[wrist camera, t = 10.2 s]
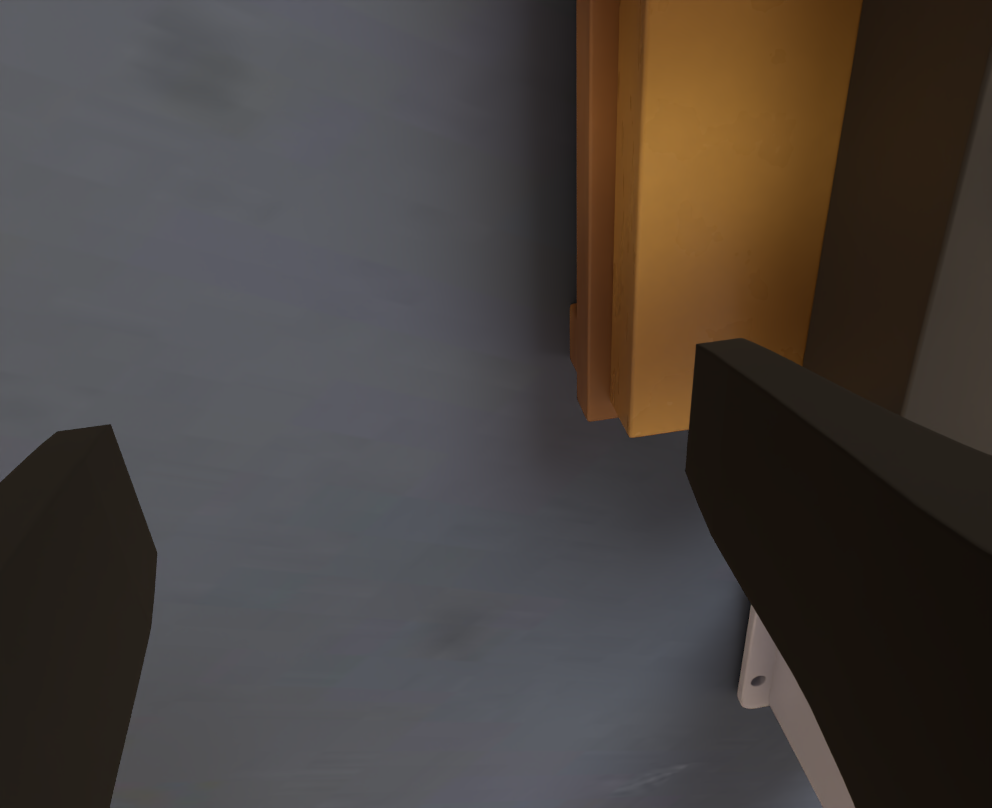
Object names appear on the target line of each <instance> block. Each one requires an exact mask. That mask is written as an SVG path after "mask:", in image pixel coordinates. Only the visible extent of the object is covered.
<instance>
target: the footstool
mask: <svg viewBox="0 0 992 808" xmlns="http://www.w3.org/2000/svg"><path fill="white" fill-rule="evenodd" d="M862 4H863V0H577V303H574V304H571V306H570V359H571V361H572V364H573V366H574V368H575V370H576V372H577V400H578V402H579V404H580V406H581V408H582V411H583V413H584V415H585V417H586V419H587V421H589V422H591V421H598V420H605V419H612V418H619V419H620V421H621V423H622V425H623V426H624V428H625V430H626V432H627V434H628V436H629V437H630V438H636V437H642V436H649V435H656V434H663V433H669V432H676V431H683V430H689V421H690V409H691V397H692V386H693V374H694V362H695V351H696V344H699V343H707V342H714V341H721V340H729V339H736V338H744V339H746V340H749V341H751V342H754V343H756V344H758V345H760V346H763V347H765V348H767V349H769V350H771V351H773V352H775V353H777V354H779V355H781V356H783V357H785V358H787V359H789V360H791V361H793V362H795V363H797V364H799V365H801V366H803V360H804V354H805V348H806V342H807V336H808V330H809V324H810V318H811V312H812V306H813V300H814V294H815V288H816V282H817V276H818V269H819V263H820V257H821V251H822V245H823V239H824V233H825V227H826V221H827V215H828V209H829V203H830V197H831V191H832V185H833V179H834V173H835V167H836V161H837V155H838V149H839V143H840V137H841V130H842V124H843V118H844V112H845V106H846V100H847V94H848V88H849V82H850V76H851V70H852V64H853V58H854V52H855V46H856V40H857V34H858V28H859V22H860V16H861V10H862Z"/></svg>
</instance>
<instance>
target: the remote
mask: <svg viewBox="0 0 992 808" xmlns="http://www.w3.org/2000/svg"><path fill="white" fill-rule="evenodd" d="M803 367H804V368H806V369H808V370H810V371H812V372H814V373H816V374H818V375H820V376H822V377H824V378H826V379H828V380H830V381H831V382H833V383H835V384H837V385H839V386H841V387H843V388H845V389H847V390H849V391H851V392H853V393H855V394H857V395H859V396H861V397H863V398H865V399H867V400H869V401H871V402H873V403H875V404H877V405H879V406H881V407H883V408H885V409H887V410H889V411H891V412H893V413H895V414H898V415H900V416H902V417H904V418H906V419H908V420H910V421H912V422H914V423H917V424H919V425H921V426H923V427H926V428H928V429H930V430H933V431H935V432H937V433H939V434H942V435H944V436H946V437H948V438H951V439H953V440H955V441H957V442H960V443H962V444H964V445H967V446H969V447H971V448H974V449H976V450H979V451H981V452H984V453H986V454H989V455H991V456H992V0H863V4H862V10H861V16H860V22H859V28H858V34H857V40H856V46H855V52H854V58H853V64H852V70H851V76H850V82H849V88H848V94H847V100H846V106H845V112H844V118H843V124H842V130H841V137H840V143H839V149H838V155H837V161H836V167H835V173H834V179H833V185H832V191H831V197H830V203H829V209H828V215H827V221H826V227H825V233H824V239H823V245H822V251H821V257H820V263H819V269H818V276H817V282H816V288H815V294H814V300H813V306H812V312H811V318H810V324H809V330H808V336H807V342H806V348H805V354H804V360H803Z"/></svg>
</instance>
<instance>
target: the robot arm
mask: <svg viewBox="0 0 992 808" xmlns="http://www.w3.org/2000/svg"><path fill="white" fill-rule="evenodd" d="M685 472H686V475H687V477H688V480H689V482H690V485H691V488H692V490H693V493H694V495H695V498H696V500H697V503H698V505H699V508H700V510H701V513H702V515H703V517H704V520H705V522H706V524H707V527H708V529H709V531H710V534H711V536H712V537H713V539H714V541H715V543H716V545H717V546H718V548H719V550H720V552H721V553H722V555H723V557H724V559H725V560H726V562H727V564H728V565H729V567H730V569H731V571H732V572H733V574H734V576H735V577H736V579H737V581H738V583H739V584H740V586H741V588H742V589H743V591H744V593H745V594H746V596H747V598H748V600H749V601H750V603H751V608H750V615H749V621H748V628H747V634H746V641H745V647H744V654H743V660H742V667H741V673H740V680H739V686H738V692H737V697H738V699H739V702H740V704H741V705H742V706H743V707H744V708H748V709H754V708H759V707H765V706H770V707H771V709H772V711H773V713H774V714H775V716H776V718H777V720H778V722H779V724H780V726H781V728H782V730H783V732H784V734H785V736H786V737H787V739H788V741H789V743H790V745H791V747H792V749H793V751H794V753H795V755H796V757H797V759H798V760H799V762H800V764H801V766H802V768H803V770H804V772H805V774H806V776H807V778H808V780H809V781H810V783H811V785H812V787H813V789H814V791H815V793H816V795H817V797H818V799H819V801H820V803H821V804H822V806H823V808H992V456H991V455H989V454H986V453H984V452H981V451H979V450H976V449H974V448H971V447H969V446H967V445H964V444H962V443H960V442H957V441H955V440H953V439H951V438H948V437H946V436H944V435H942V434H939V433H937V432H935V431H933V430H930V429H928V428H926V427H923V426H921V425H919V424H917V423H914V422H912V421H910V420H908V419H906V418H904V417H902V416H900V415H898V414H895V413H893V412H891V411H889V410H887V409H885V408H883V407H881V406H879V405H877V404H875V403H873V402H871V401H869V400H867V399H865V398H863V397H861V396H859V395H857V394H855V393H853V392H851V391H849V390H847V389H845V388H843V387H841V386H839V385H837V384H835V383H833V382H831V381H830V380H828V379H826V378H824V377H822V376H820V375H818V374H816V373H814V372H812V371H810V370H808V369H806V368H804V367H803V366H801V365H799V364H797V363H795V362H793V361H791V360H789V359H787V358H785V357H783V356H781V355H779V354H777V353H775V352H773V351H771V350H769V349H767V348H765V347H763V346H760V345H758V344H756V343H754V342H751V341H749V340H746V339H744V338H736V339H729V340H721V341H714V342H707V343H699V344H696V351H695V362H694V374H693V386H692V397H691V409H690V421H689V432H688V444H687V456H686V468H685ZM156 564H157V551H156V548H155V545H154V542H153V540H152V537H151V534H150V531H149V529H148V526H147V523H146V520H145V518H144V515H143V512H142V509H141V507H140V504H139V501H138V498H137V496H136V493H135V490H134V487H133V484H132V482H131V479H130V476H129V473H128V471H127V468H126V465H125V462H124V460H123V457H122V454H121V451H120V449H119V446H118V443H117V440H116V438H115V435H114V432H113V429H112V427H111V424H109V425H102V426H94V427H87V428H80V429H73V430H65V431H58V432H56V433H55V434H54V435H52V436H51V437H50V438H49V439H47V440H46V441H45V442H44V443H43V444H41V445H40V446H39V447H38V448H37V449H36V450H35V451H34V452H32V453H31V454H30V455H29V456H28V457H27V458H26V459H25V460H24V461H23V462H22V463H21V464H19V465H18V466H17V467H16V468H15V469H14V470H13V471H12V472H11V473H10V474H9V475H8V476H7V477H6V478H5V479H4V480H2V481H1V482H0V808H110V803H111V798H112V794H113V790H114V786H115V781H116V777H117V773H118V769H119V764H120V760H121V756H122V752H123V747H124V743H125V739H126V735H127V730H128V726H129V722H130V718H131V713H132V709H133V705H134V701H135V697H136V692H137V688H138V684H139V679H140V675H141V670H142V666H143V662H144V657H145V653H146V648H147V644H148V639H149V634H150V630H151V623H152V613H153V603H154V593H155V578H156Z"/></svg>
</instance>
